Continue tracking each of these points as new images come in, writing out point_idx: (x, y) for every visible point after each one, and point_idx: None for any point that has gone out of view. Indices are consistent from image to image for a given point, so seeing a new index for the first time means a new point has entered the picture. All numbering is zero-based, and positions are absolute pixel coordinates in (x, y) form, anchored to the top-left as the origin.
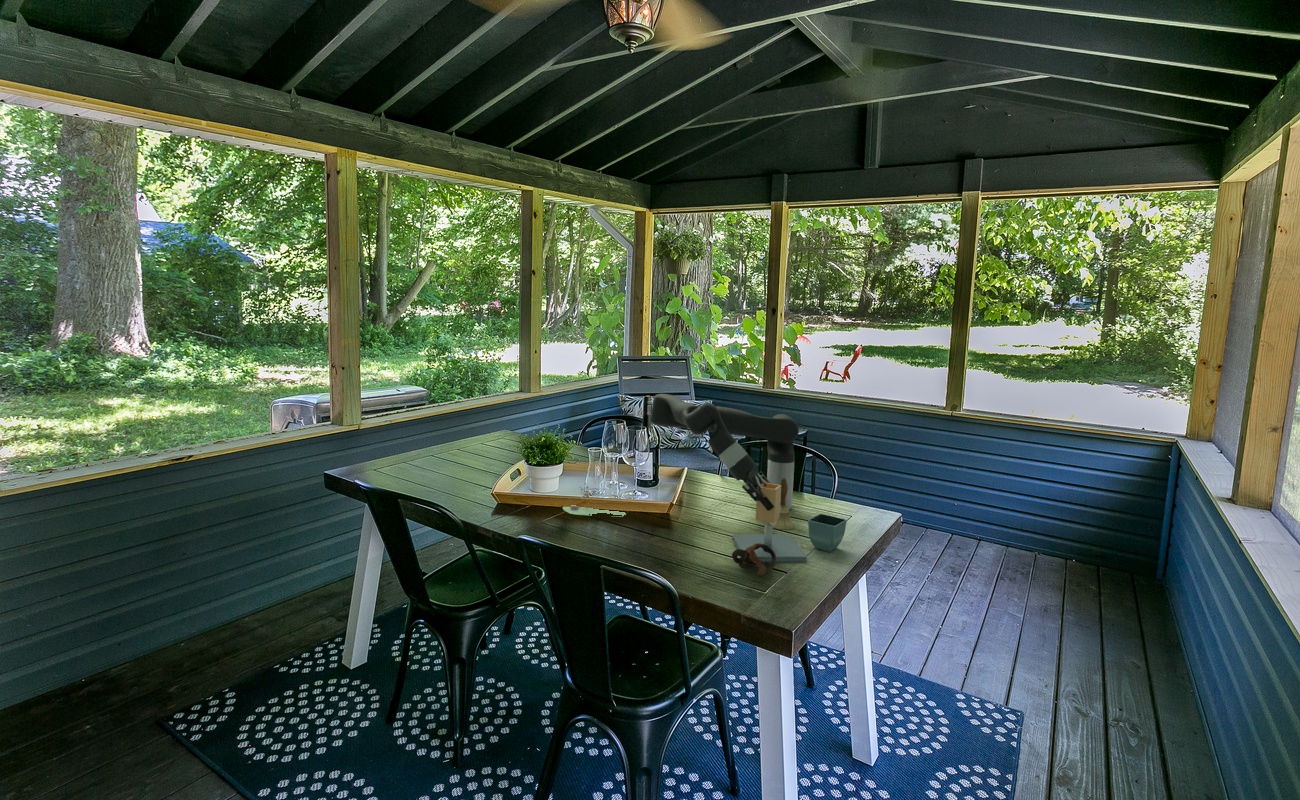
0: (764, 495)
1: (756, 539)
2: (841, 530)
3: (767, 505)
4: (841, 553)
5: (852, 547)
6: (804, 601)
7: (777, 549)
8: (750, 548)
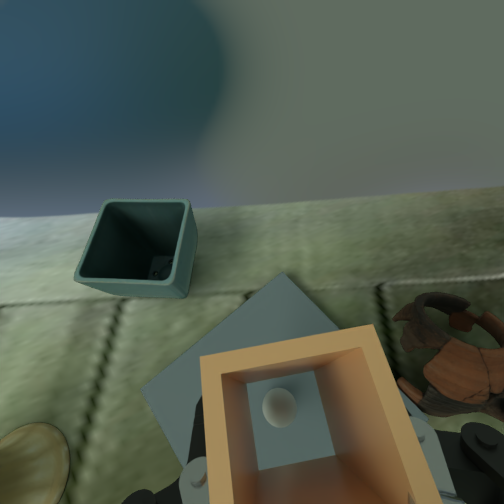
0: (418, 423)
1: None
2: (147, 216)
3: None
4: None
5: None
6: (465, 203)
7: None
8: (498, 368)
